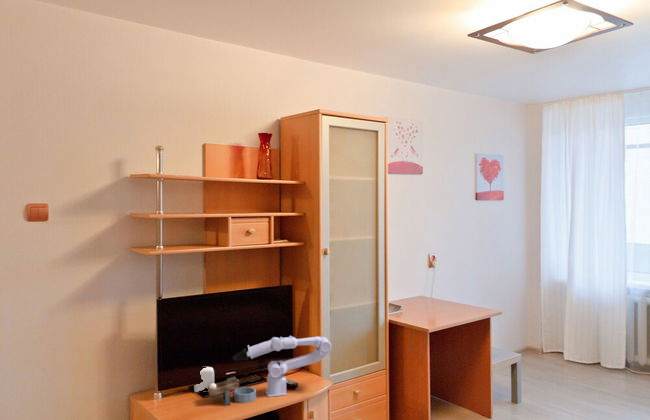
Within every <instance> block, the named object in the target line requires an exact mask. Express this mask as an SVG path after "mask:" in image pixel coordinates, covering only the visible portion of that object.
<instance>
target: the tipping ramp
mask: <svg viewBox="0 0 650 420" xmlns="http://www.w3.org/2000/svg"><path fill="white" fill-rule="evenodd" d="M215 384H216V386H217V388H216V389H214V390H210V389H209V386H207V387H208V391H207V392H208V395H209V398H210V399H211V400H215V399H217V398H218V395H221V394H223V393H225V389H230V392H231V391H235V390H236V389H238V388H240V383H239V382H238V378H236V376H231V377H229V378H227V379H226V380H224V381H221V382H216V383H215Z"/></svg>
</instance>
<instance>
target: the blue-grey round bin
mask: <svg viewBox="0 0 650 420" xmlns="http://www.w3.org/2000/svg"><path fill="white" fill-rule="evenodd" d="M233 399H234V401H235V403H239V404H241V403H242V404H246V403H251V402H254V401H255V400H257V389H256V387H252V386H241V387H239V388H238V389H235V390H233Z"/></svg>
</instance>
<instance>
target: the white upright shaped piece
mask: <svg viewBox="0 0 650 420" xmlns="http://www.w3.org/2000/svg"><path fill="white" fill-rule="evenodd" d="M205 367H206V368H203V369H202V370H201V371H200V375H201V379H202V380H203V382H201V383H200V384H196V385H194V384H193V390H194V393H200V392H199V391H202V390H204V389H205V388H207V389H208V387H207V386H210V384H212V383H215V369H214V368H213V367H212V366H205Z"/></svg>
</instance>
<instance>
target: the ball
mask: <svg viewBox="0 0 650 420" xmlns="http://www.w3.org/2000/svg"><path fill="white" fill-rule="evenodd" d="M216 384H217V383H215V382H214V383H212V384H210V386H209V389H210V390H214V389H216V388H217V386H216Z"/></svg>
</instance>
